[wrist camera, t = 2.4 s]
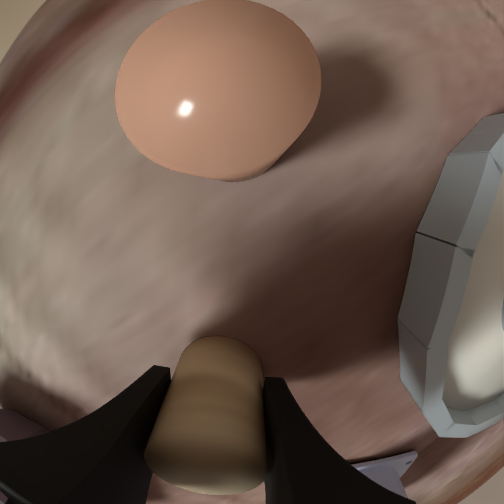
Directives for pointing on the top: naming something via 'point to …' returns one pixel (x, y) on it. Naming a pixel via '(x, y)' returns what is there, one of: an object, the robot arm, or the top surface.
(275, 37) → the peach rounded cylinder
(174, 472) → the tan rounded cylinder
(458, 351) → the groove tray
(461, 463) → the top surface
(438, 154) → the top surface
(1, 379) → the top surface
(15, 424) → the flask
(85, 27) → the top surface
